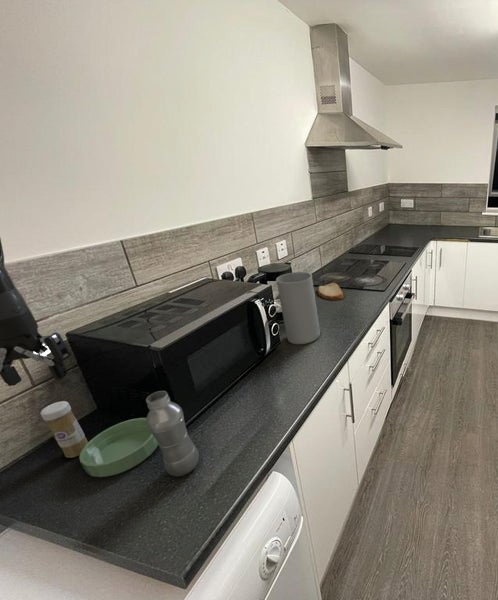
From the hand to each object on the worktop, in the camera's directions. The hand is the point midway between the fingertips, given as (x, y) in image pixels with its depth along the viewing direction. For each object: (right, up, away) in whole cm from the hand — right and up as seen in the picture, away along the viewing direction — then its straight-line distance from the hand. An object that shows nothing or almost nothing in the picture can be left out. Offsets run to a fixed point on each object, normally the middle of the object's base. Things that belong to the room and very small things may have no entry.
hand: (38, 380), depth 70 cm
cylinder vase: (+41, +3, +57) cm, 70 cm away
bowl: (+13, -19, +7) cm, 24 cm away
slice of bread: (+42, +21, +101) cm, 111 cm away
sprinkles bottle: (0, -19, +8) cm, 21 cm away
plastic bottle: (+30, -21, +3) cm, 37 cm away
